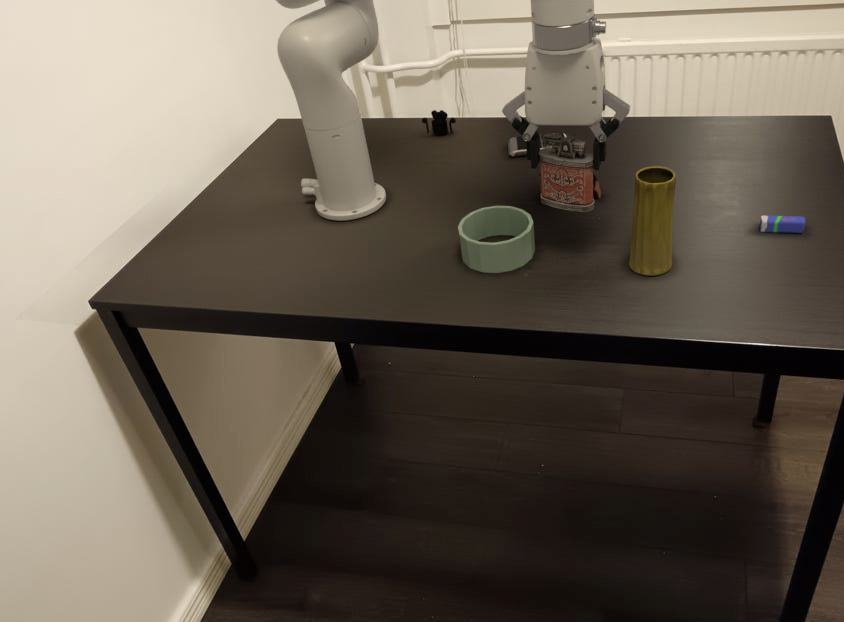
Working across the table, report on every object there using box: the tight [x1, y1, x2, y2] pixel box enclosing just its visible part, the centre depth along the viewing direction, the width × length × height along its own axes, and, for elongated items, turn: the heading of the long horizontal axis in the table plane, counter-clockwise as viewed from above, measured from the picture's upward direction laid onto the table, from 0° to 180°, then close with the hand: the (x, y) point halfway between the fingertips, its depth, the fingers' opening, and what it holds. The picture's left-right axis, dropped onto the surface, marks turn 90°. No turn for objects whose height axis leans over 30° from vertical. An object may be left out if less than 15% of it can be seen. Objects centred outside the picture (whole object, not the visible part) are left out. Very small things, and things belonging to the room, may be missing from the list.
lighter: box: [539, 133, 595, 213], centre depth 104 cm, size 8×3×10 cm, turn 58°
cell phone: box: [507, 132, 567, 158], centre depth 142 cm, size 6×11×1 cm, turn 89°
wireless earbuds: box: [421, 109, 457, 136], centre depth 151 cm, size 7×2×5 cm, turn 75°
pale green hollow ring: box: [457, 205, 536, 274], centre depth 115 cm, size 11×11×5 cm
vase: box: [628, 165, 677, 277], centre depth 105 cm, size 6×6×14 cm
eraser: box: [759, 215, 806, 234], centre depth 112 cm, size 2×6×2 cm, turn 74°
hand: (566, 164), depth 104 cm, fingers closed on lighter, 8 cm apart
